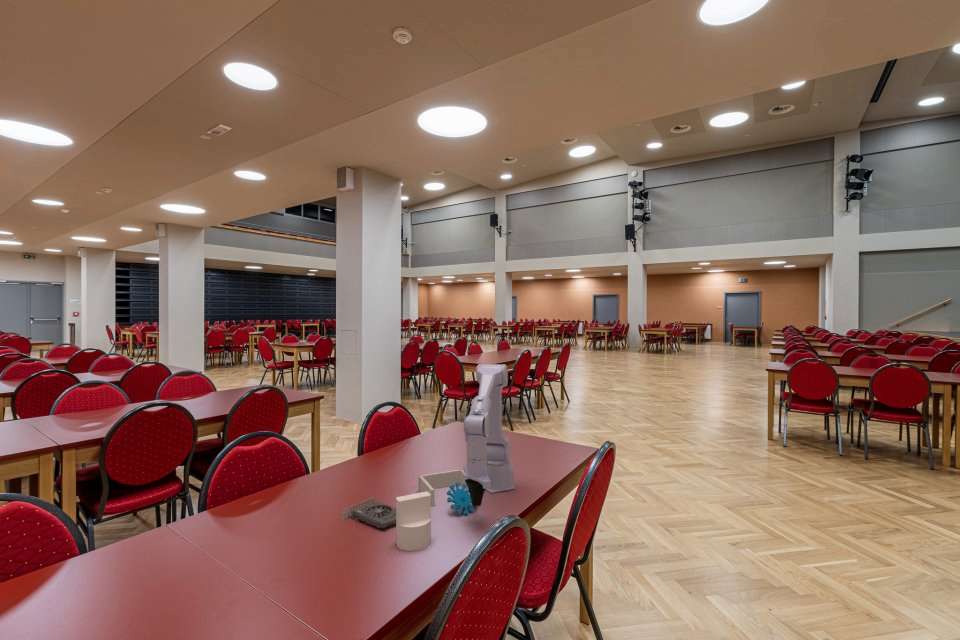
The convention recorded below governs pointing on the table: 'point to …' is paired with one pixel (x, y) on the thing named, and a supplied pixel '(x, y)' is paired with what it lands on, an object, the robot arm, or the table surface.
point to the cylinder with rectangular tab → (413, 521)
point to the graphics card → (372, 513)
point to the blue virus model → (460, 499)
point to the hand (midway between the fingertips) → (476, 505)
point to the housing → (440, 481)
